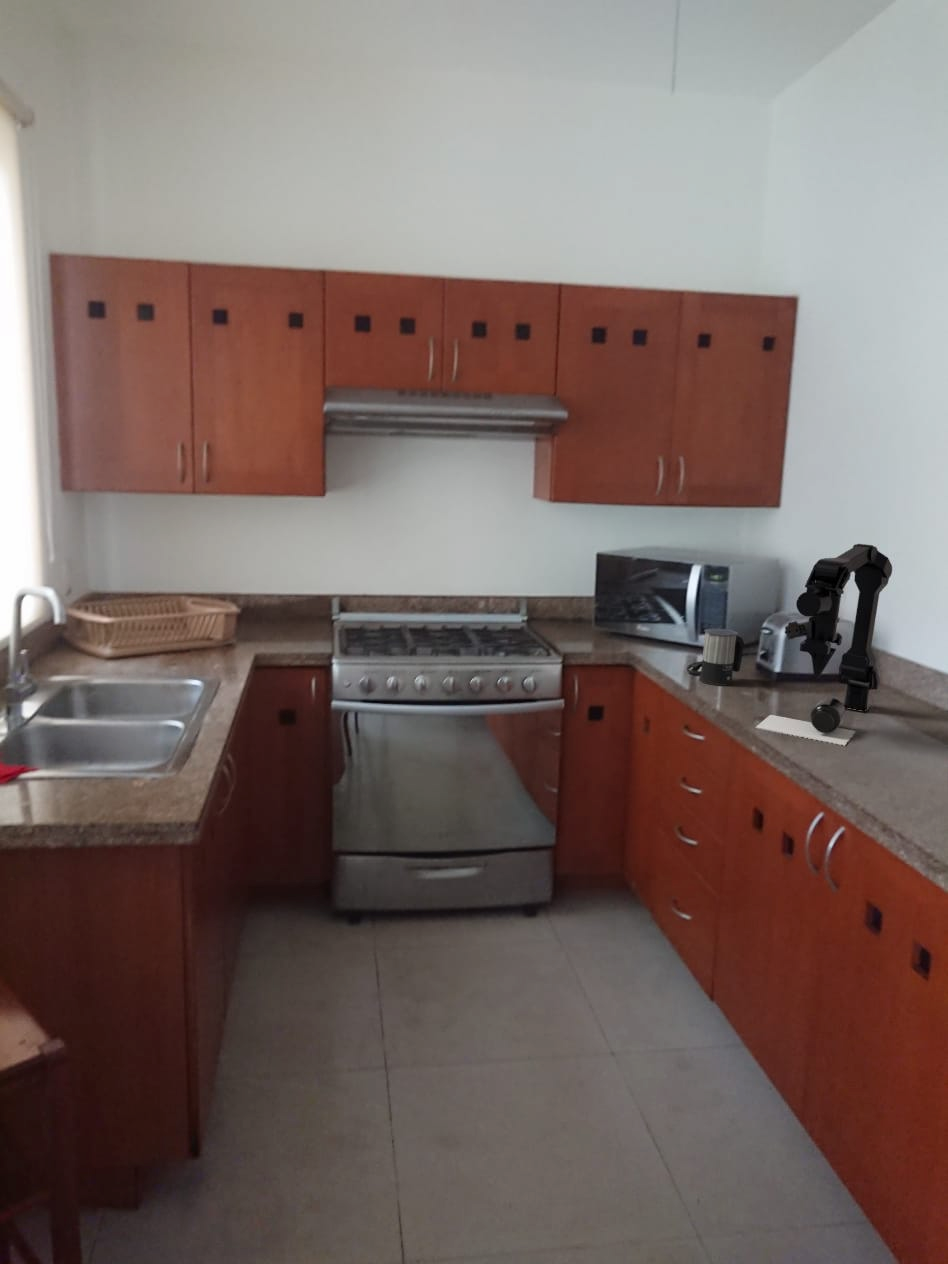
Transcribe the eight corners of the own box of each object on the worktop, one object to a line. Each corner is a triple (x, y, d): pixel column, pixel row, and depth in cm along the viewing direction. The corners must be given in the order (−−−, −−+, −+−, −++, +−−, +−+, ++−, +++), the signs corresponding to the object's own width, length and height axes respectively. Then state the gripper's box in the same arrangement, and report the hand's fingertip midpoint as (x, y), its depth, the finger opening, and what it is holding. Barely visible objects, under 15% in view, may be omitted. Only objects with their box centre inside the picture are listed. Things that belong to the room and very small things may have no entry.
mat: (770, 715, 229) (770, 714, 229) (855, 732, 219) (855, 731, 219) (755, 728, 217) (755, 727, 217) (844, 746, 207) (844, 744, 207)
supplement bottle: (819, 693, 223) (812, 703, 213) (848, 702, 220) (842, 712, 210) (812, 719, 225) (804, 730, 215) (840, 728, 222) (834, 740, 212)
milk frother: (724, 688, 255) (730, 635, 252) (672, 677, 265) (677, 626, 262) (743, 680, 266) (749, 630, 264) (693, 669, 276) (698, 621, 273)
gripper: (799, 604, 229) (791, 665, 232) (781, 612, 213) (773, 677, 216) (846, 610, 224) (837, 673, 227) (831, 619, 208) (822, 686, 211)
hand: (816, 677), depth 220 cm, fingers closed
